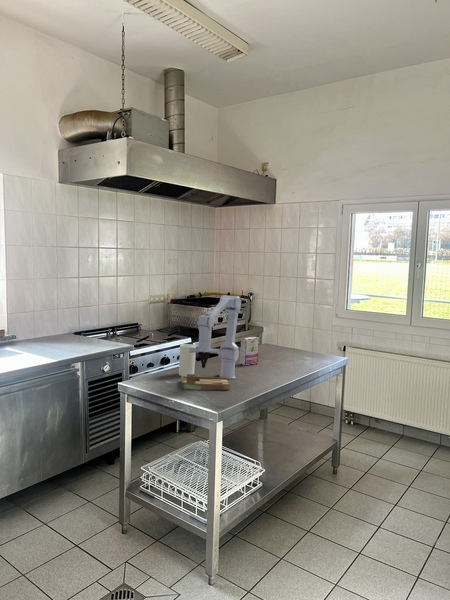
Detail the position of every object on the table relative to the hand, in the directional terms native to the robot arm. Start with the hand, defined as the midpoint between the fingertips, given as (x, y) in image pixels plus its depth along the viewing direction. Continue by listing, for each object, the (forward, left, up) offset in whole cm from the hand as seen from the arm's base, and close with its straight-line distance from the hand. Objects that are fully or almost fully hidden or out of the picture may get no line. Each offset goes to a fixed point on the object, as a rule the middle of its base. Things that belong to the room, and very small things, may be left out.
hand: (203, 367), depth 215 cm
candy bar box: (-51, +32, -10) cm, 61 cm away
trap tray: (-3, +2, -10) cm, 10 cm away
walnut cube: (0, -6, -8) cm, 10 cm away
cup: (-23, -7, -10) cm, 26 cm away
